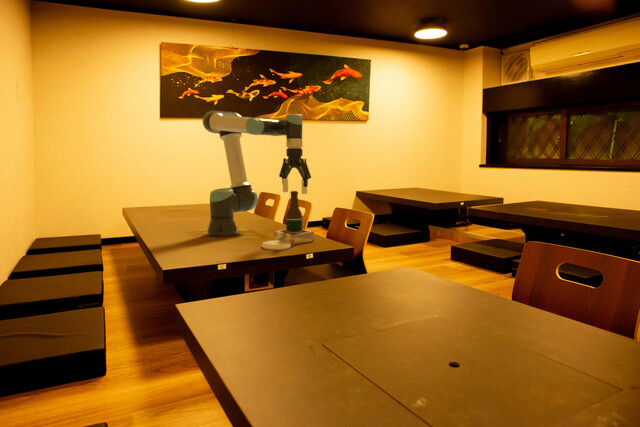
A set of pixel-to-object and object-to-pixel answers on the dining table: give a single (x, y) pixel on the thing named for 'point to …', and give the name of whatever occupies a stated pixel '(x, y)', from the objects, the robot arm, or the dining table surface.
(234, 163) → the robot arm
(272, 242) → the ceramic plate
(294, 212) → the beer bottle
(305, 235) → the box
